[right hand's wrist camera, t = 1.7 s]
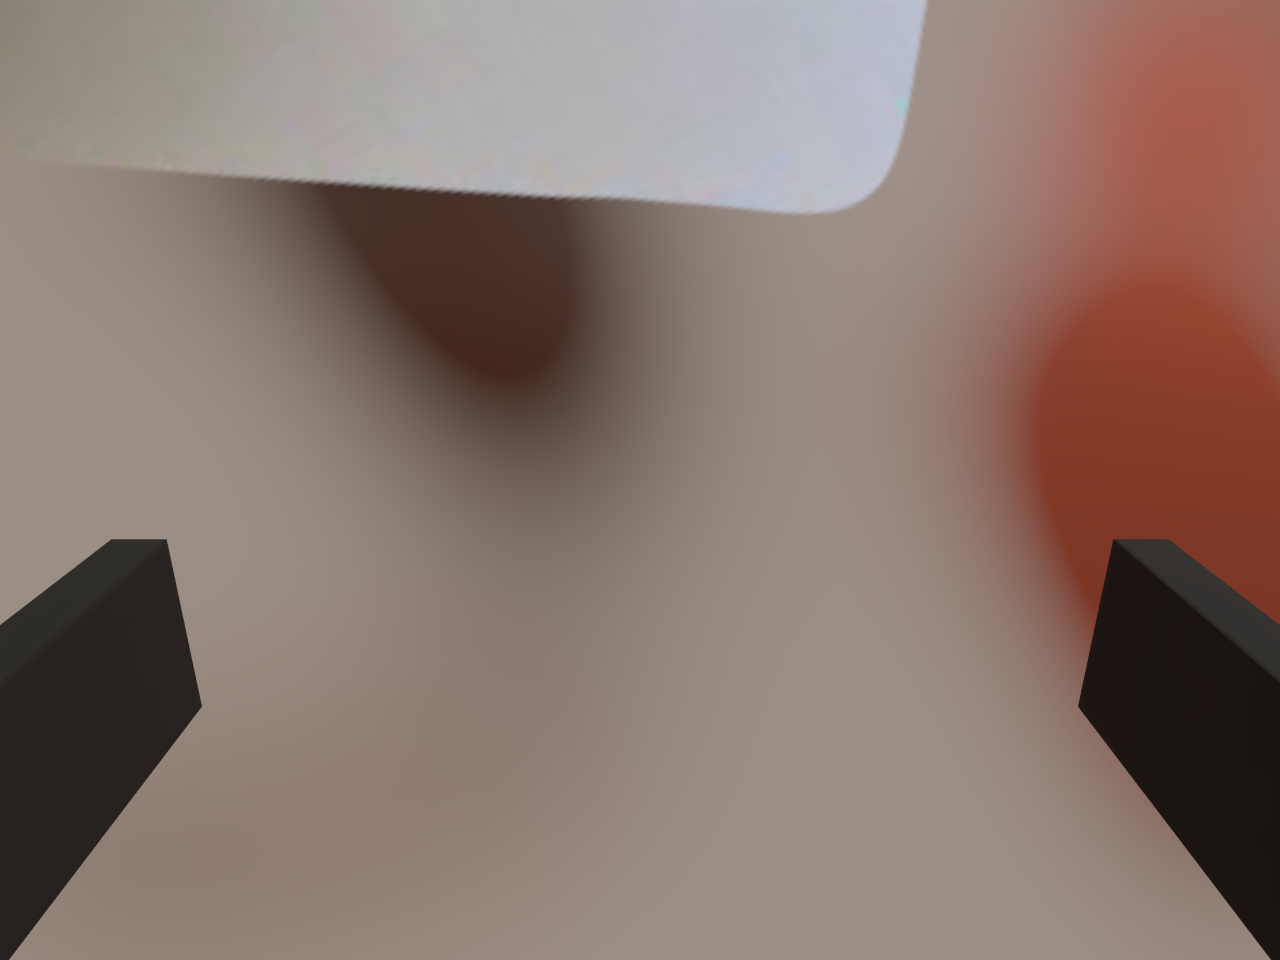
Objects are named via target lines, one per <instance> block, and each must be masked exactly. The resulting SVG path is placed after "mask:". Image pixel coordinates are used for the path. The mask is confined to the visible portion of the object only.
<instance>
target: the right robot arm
mask: <svg viewBox="0 0 1280 960" xmlns="http://www.w3.org/2000/svg"><path fill="white" fill-rule="evenodd" d="M201 707H202V705H201V700H200V695H199V690H198V686H197V681H196V676H195V671H194V667H193V662H192V657H191V653H190V648H189V643H188V638H187V634H186V629H185V624H184V619H183V615H182V610H181V605H180V601H179V596H178V591H177V586H176V582H175V577H174V572H173V567H172V563H171V558H170V553H169V549H168V544H167V540H166V539H112V540H110V541H109V542H107V543H106V544H105V545H104V546H102V547H101V548H100V549H98V550H97V551H96V552H94V553H93V554H92V555H91V556H89V557H88V558H87V559H85V560H84V561H83V562H81V563H80V564H79V565H78V566H76V567H75V568H74V569H72V570H71V571H70V572H69V573H67V574H66V575H65V576H63V577H62V578H61V579H59V580H58V581H57V582H56V583H54V584H53V585H52V586H50V587H49V588H48V589H46V590H45V591H44V592H43V593H41V594H40V595H39V596H37V597H36V598H35V599H33V600H32V601H31V602H30V603H28V604H27V605H26V606H24V607H23V608H22V609H21V610H19V611H18V612H17V613H15V614H14V615H13V616H11V617H10V618H9V619H8V620H6V621H5V622H4V623H2V624H1V625H0V960H9V959H10V958H11V956H12V955H13V954H14V952H15V951H16V950H17V948H18V947H19V946H20V945H21V943H22V942H23V941H24V939H25V938H26V937H27V935H28V934H29V933H30V931H31V930H32V929H33V927H34V926H35V925H36V924H37V922H38V921H39V920H40V918H41V917H42V916H43V914H44V913H45V912H46V910H47V909H48V908H49V906H50V905H51V904H52V903H53V901H54V900H55V899H56V897H57V896H58V895H59V893H60V892H61V891H62V889H63V888H64V887H65V886H66V884H67V883H68V882H69V880H70V879H71V878H72V876H73V875H74V874H75V872H76V871H77V870H78V868H79V867H80V866H81V865H82V863H83V862H84V861H85V859H86V858H87V857H88V855H89V854H90V853H91V851H92V850H93V849H94V847H95V846H96V845H97V843H98V842H99V841H100V840H101V838H102V837H103V836H104V834H105V833H106V832H107V830H108V829H109V828H110V826H111V825H112V824H113V823H114V821H115V820H116V819H117V817H118V816H119V815H120V813H121V812H122V811H123V809H124V808H125V807H126V805H127V804H128V803H129V801H130V800H131V799H132V798H133V796H134V795H135V794H136V792H137V791H138V790H139V788H140V787H141V786H142V784H143V783H144V782H145V781H146V779H147V778H148V777H149V775H150V774H151V773H152V771H153V770H154V769H155V767H156V766H157V765H158V763H159V762H160V761H161V760H162V758H163V757H164V756H165V754H166V753H167V752H168V750H169V749H170V748H171V746H172V745H173V744H174V742H175V741H176V740H177V739H178V737H179V736H180V735H181V733H182V732H183V731H184V729H185V728H186V727H187V725H188V724H189V723H190V721H191V720H192V719H193V717H194V716H195V715H196V714H197V712H198V711H199V710H200V708H201ZM1078 707H1079V708H1080V710H1081V711H1082V712H1083V714H1084V715H1085V716H1086V717H1087V719H1088V720H1089V721H1090V723H1091V724H1092V725H1093V727H1094V728H1095V729H1096V731H1097V732H1098V733H1099V734H1100V736H1101V737H1102V739H1103V740H1104V741H1105V742H1106V744H1107V745H1108V746H1109V748H1110V749H1111V750H1112V752H1113V753H1114V754H1115V756H1116V757H1117V758H1118V759H1119V761H1120V762H1121V763H1122V765H1123V766H1124V767H1125V769H1126V770H1127V771H1128V773H1129V774H1130V775H1131V776H1132V778H1133V779H1134V781H1135V782H1136V783H1137V784H1138V786H1139V787H1140V788H1141V790H1142V791H1143V792H1144V794H1145V795H1146V796H1147V798H1148V799H1149V800H1150V801H1151V803H1152V804H1153V805H1154V807H1155V808H1156V809H1157V811H1158V812H1159V813H1160V815H1161V816H1162V817H1163V819H1164V820H1165V821H1166V823H1167V824H1168V825H1169V826H1170V828H1171V829H1172V830H1173V832H1174V833H1175V834H1176V836H1177V837H1178V838H1179V840H1180V841H1181V842H1182V844H1183V845H1184V846H1185V847H1186V849H1187V850H1188V851H1189V853H1190V854H1191V855H1192V857H1193V858H1194V859H1195V861H1196V862H1197V863H1198V865H1199V866H1200V867H1201V868H1202V870H1203V871H1204V872H1205V874H1206V875H1207V876H1208V878H1209V879H1210V880H1211V882H1212V883H1213V884H1214V886H1215V887H1216V888H1217V889H1218V891H1219V892H1220V893H1221V895H1222V896H1223V897H1224V899H1225V900H1226V901H1227V903H1228V904H1229V905H1230V906H1231V908H1232V909H1233V910H1234V912H1235V913H1236V914H1237V916H1238V917H1239V918H1240V920H1241V921H1242V922H1243V924H1244V925H1245V926H1246V927H1247V929H1248V930H1249V931H1250V933H1251V934H1252V935H1253V937H1254V938H1255V939H1256V941H1257V942H1258V943H1259V945H1260V946H1261V947H1262V949H1263V950H1264V951H1265V952H1266V954H1267V955H1268V956H1269V958H1270V959H1271V960H1280V625H1279V624H1278V623H1276V622H1275V621H1274V620H1272V619H1271V618H1270V617H1269V616H1267V615H1266V614H1265V613H1263V612H1262V611H1261V610H1259V609H1258V608H1257V607H1256V606H1254V605H1253V604H1252V603H1250V602H1249V601H1248V600H1246V599H1245V598H1244V597H1243V596H1241V595H1240V594H1239V593H1237V592H1236V591H1235V590H1234V589H1232V588H1231V587H1230V586H1228V585H1227V584H1226V583H1224V582H1223V581H1222V580H1221V579H1219V578H1218V577H1217V576H1215V575H1214V574H1213V573H1211V572H1210V571H1209V570H1208V569H1206V568H1205V567H1204V566H1202V565H1201V564H1200V563H1199V562H1197V561H1196V560H1195V559H1193V558H1192V557H1191V556H1189V555H1188V554H1187V553H1186V552H1184V551H1183V550H1182V549H1180V548H1179V547H1178V546H1177V545H1175V544H1174V543H1173V542H1171V541H1170V540H1168V539H1114V540H1113V544H1112V548H1111V553H1110V558H1109V563H1108V567H1107V572H1106V577H1105V582H1104V586H1103V591H1102V596H1101V600H1100V605H1099V610H1098V615H1097V619H1096V624H1095V629H1094V634H1093V638H1092V643H1091V648H1090V653H1089V657H1088V662H1087V667H1086V672H1085V676H1084V681H1083V686H1082V690H1081V695H1080V700H1079V705H1078Z"/></svg>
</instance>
